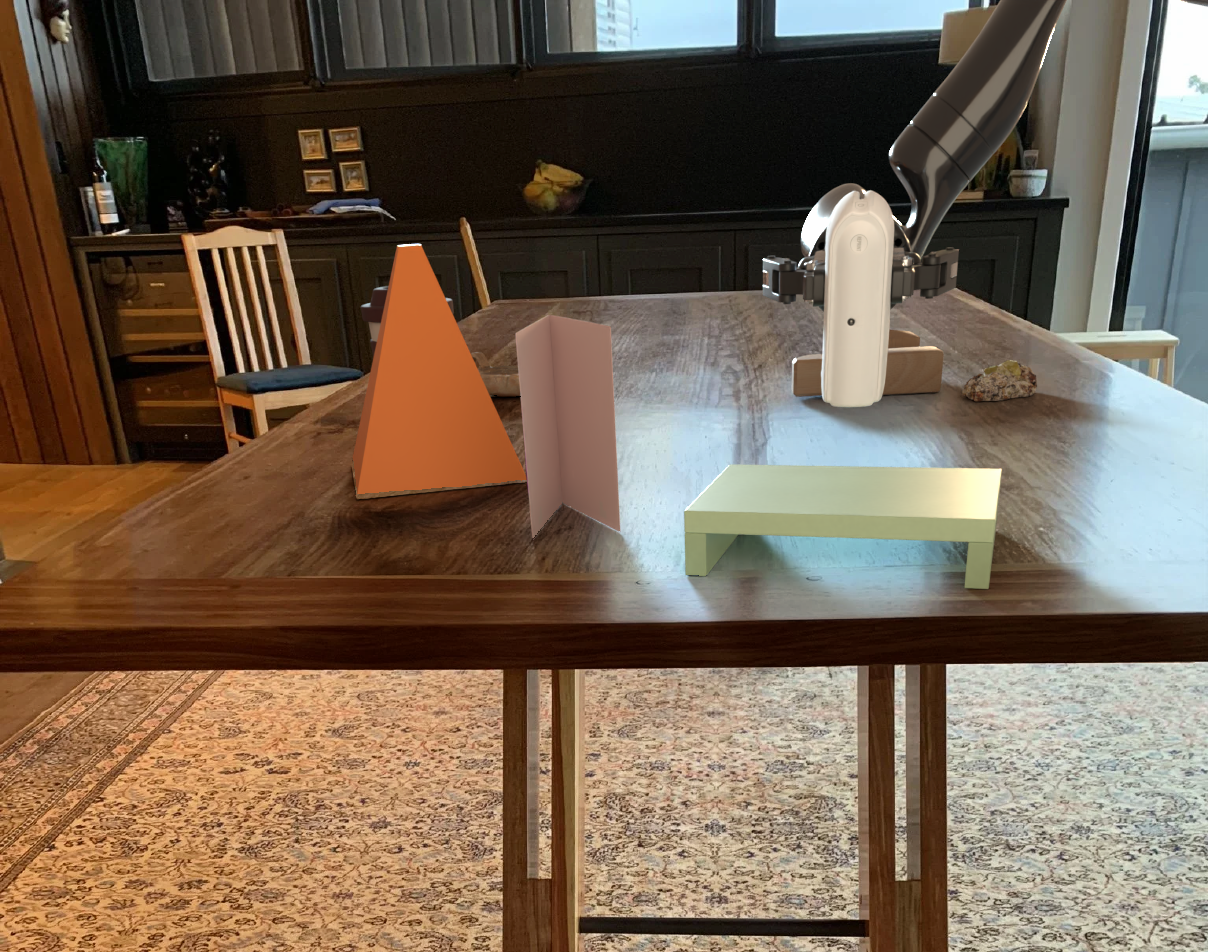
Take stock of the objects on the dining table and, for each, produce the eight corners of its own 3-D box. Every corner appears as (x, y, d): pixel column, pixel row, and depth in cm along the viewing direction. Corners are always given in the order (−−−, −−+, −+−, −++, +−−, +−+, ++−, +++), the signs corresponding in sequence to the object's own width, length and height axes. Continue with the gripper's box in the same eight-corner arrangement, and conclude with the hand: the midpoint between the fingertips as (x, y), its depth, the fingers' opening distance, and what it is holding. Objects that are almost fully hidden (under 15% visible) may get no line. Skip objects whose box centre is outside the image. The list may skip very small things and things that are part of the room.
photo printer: (885, 407, 77) (898, 191, 71) (817, 408, 78) (824, 195, 72) (885, 380, 86) (896, 186, 80) (824, 381, 86) (831, 189, 80)
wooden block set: (953, 341, 136) (794, 350, 137) (949, 393, 139) (793, 401, 139) (919, 323, 151) (777, 331, 152) (916, 370, 154) (776, 378, 154)
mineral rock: (985, 363, 141) (1049, 347, 135) (991, 401, 142) (1055, 387, 136) (936, 380, 135) (1001, 364, 129) (943, 419, 136) (1008, 405, 130)
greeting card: (552, 502, 102) (538, 314, 95) (638, 501, 101) (630, 311, 94) (521, 540, 92) (503, 333, 85) (616, 539, 91) (605, 329, 84)
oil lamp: (560, 394, 152) (557, 353, 149) (515, 404, 147) (511, 361, 145) (496, 386, 160) (492, 347, 158) (451, 395, 156) (447, 355, 154)
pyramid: (529, 482, 110) (509, 242, 100) (356, 500, 107) (319, 255, 98) (504, 449, 123) (485, 235, 114) (350, 464, 121) (318, 247, 111)
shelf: (995, 530, 88) (1002, 468, 86) (988, 589, 76) (995, 519, 74) (729, 522, 94) (729, 464, 92) (685, 575, 82) (683, 510, 80)
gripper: (952, 313, 91) (969, 346, 76) (764, 320, 94) (744, 353, 79) (961, 203, 87) (980, 215, 73) (764, 213, 90) (744, 227, 75)
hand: (857, 286), depth 76 cm, fingers closed on photo printer, 4 cm apart
